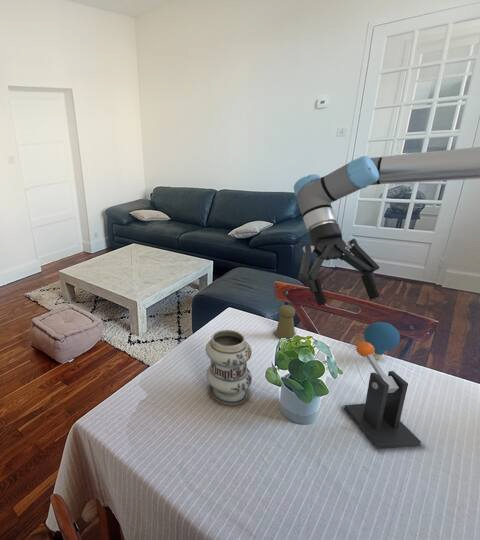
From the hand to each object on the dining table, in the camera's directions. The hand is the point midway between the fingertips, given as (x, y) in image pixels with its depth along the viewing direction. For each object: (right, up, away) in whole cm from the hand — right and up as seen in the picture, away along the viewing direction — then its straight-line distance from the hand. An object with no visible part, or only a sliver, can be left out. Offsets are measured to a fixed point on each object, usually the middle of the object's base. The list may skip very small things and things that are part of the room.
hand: (348, 301), depth 86 cm
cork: (-1, -15, +32) cm, 35 cm away
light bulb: (+19, -19, +15) cm, 30 cm away
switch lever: (+1, -15, -7) cm, 17 cm away
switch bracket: (+2, -29, -7) cm, 30 cm away
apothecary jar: (-28, -27, +9) cm, 40 cm away
